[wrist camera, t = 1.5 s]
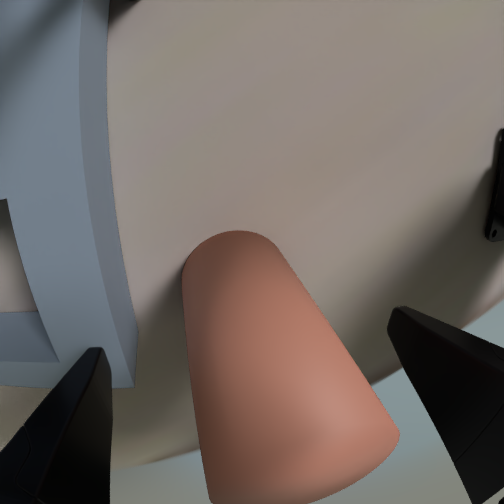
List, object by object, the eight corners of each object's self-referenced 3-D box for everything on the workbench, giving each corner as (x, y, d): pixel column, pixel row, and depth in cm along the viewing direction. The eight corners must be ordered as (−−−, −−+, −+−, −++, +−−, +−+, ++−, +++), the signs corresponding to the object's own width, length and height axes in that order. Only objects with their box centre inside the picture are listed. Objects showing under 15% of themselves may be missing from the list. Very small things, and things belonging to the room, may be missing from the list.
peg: (289, 226, 12) (428, 395, 5) (282, 315, 13) (367, 483, 6) (176, 235, 11) (196, 456, 4) (186, 327, 13) (217, 521, 6)
